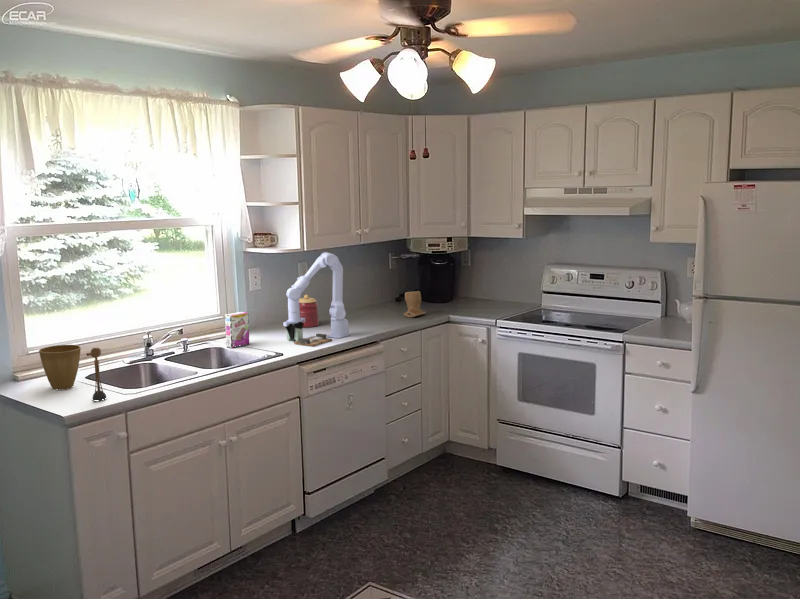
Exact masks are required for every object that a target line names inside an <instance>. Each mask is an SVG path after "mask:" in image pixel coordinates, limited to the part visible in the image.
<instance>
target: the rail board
mask: <svg viewBox="0 0 800 599" xmlns="http://www.w3.org/2000/svg"><path fill="white" fill-rule="evenodd" d="M332 341H333V339H332V338H329V337H328V338H327V334H325V333H316V335H315V336H311V337H307V338H304V337H303V338H301V339H299V341H297V342H296V341H294V343H293V345H299V346H306V347H317V346H319V345H323V344H326V343H327V344H328V343H330V342H332Z"/></svg>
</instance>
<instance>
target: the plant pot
mask: <svg viewBox="0 0 800 599" xmlns="http://www.w3.org/2000/svg"><path fill="white" fill-rule="evenodd" d="M81 348H82V346H80V345H77V344H61V345H60V344H59V345H58V344H57V345H50V346H46V347H43V348H40V349H39V350H38V353H39V357H40V361H41V364H42V367H43V371H44V374H45V376H46V378H47V380H48V383H49V385H50V386H51V388H53V389H52V390H54V389H58V390H57V391H60V390H59V389H65V390H68V389H67V388H70V389H72V388H73V387H74V385H75V381H76V379H77V375H78V370H79V365H80V360H81V358H80V357H81V350H82V349H81ZM72 386H73V387H72ZM71 387H72V388H71Z"/></svg>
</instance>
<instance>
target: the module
mask: <svg viewBox="0 0 800 599" xmlns="http://www.w3.org/2000/svg"><path fill="white" fill-rule="evenodd" d="M303 332H304V331H303V328H302V329H298V328H295V332H294V339H290V337H289V333H288V331H287V330H286V341H287V342H291V341H293V340H295V342H297V341H299V339H301V338H304V334H303Z"/></svg>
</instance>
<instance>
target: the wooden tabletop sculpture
mask: <svg viewBox="0 0 800 599" xmlns="http://www.w3.org/2000/svg"><path fill="white" fill-rule="evenodd" d="M101 354H102V351H101V348H99V347H98V346H95V347H92V349H90V352H87V353H86V357H89V356H90V357H92V358H94V360H93V361H94V374H95V375H94V376H95V389H94V393H93V394H92V398H91V399H93V400H102V399H105V398H106V397H107V395H106V393H105V392H104V390H103V387H102V383H101V382H102V381H101V373H100V372H101V371H100V362H99V359H98V358H99V357H100V356H101ZM93 400H92V401H93Z"/></svg>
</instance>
